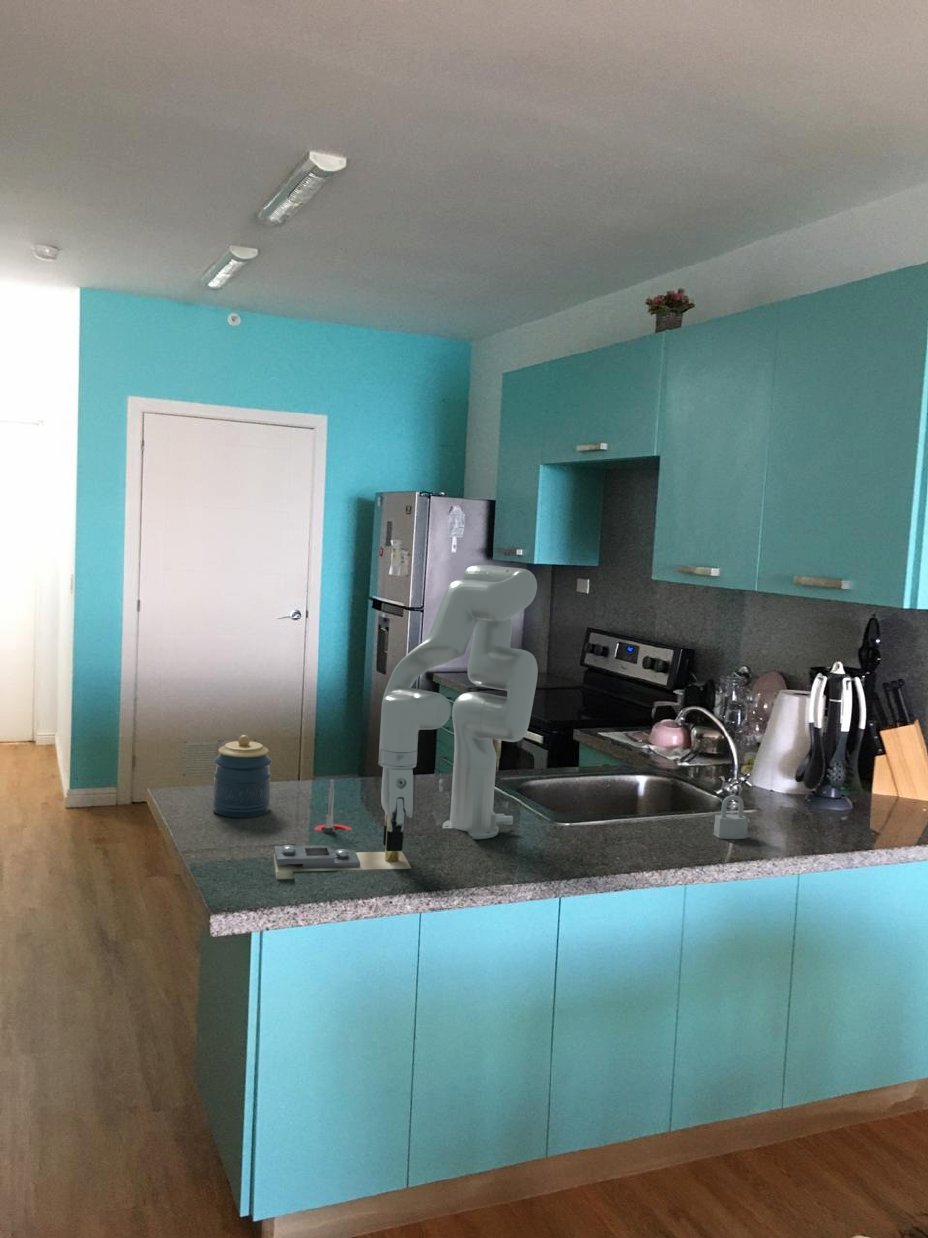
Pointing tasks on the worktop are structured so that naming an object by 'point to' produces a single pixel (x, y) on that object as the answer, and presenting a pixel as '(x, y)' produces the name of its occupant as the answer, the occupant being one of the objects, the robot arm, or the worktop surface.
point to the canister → (242, 779)
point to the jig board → (366, 863)
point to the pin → (391, 855)
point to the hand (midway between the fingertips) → (392, 847)
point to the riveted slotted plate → (316, 856)
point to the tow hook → (331, 815)
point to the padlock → (731, 821)
